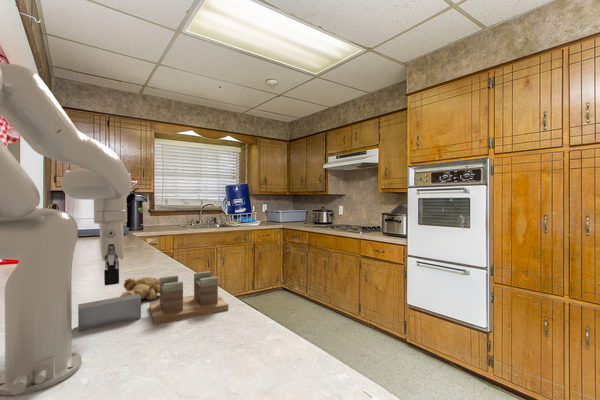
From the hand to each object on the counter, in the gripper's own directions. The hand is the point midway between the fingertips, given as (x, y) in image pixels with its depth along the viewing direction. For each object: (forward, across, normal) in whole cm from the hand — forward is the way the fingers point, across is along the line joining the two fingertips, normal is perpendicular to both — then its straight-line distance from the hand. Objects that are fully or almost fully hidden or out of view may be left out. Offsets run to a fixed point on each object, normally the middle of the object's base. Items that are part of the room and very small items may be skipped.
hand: (112, 279), depth 81 cm
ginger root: (+12, +17, -8) cm, 23 cm away
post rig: (+12, -2, -20) cm, 23 cm away
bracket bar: (+12, -1, 0) cm, 12 cm away
